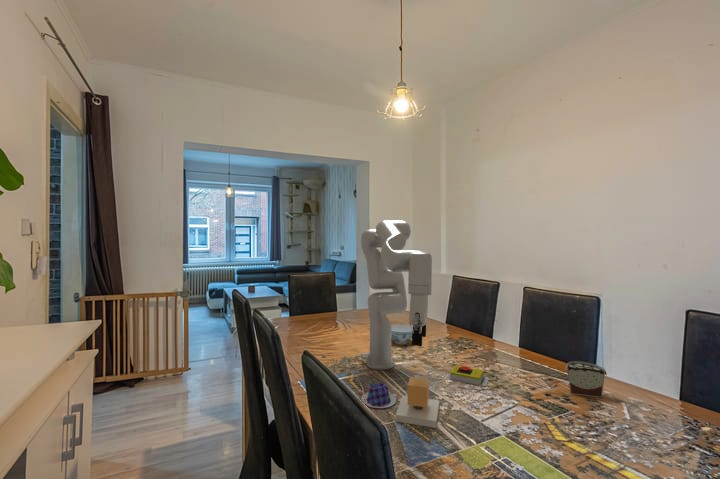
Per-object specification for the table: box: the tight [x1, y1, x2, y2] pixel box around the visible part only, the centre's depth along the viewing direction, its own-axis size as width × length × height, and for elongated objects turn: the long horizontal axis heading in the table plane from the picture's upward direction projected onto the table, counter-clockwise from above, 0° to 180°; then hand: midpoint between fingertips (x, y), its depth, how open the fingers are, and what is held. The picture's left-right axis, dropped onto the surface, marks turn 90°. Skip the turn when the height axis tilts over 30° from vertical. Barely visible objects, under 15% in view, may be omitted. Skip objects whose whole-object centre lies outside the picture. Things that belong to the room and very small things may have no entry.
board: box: [395, 394, 440, 429], centre depth 103 cm, size 12×13×9 cm
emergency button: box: [446, 364, 490, 387], centre depth 130 cm, size 9×4×15 cm
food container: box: [565, 360, 608, 399], centre depth 118 cm, size 12×6×10 cm, turn 71°
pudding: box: [360, 382, 397, 409], centre depth 112 cm, size 12×12×5 cm
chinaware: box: [391, 324, 413, 345], centre depth 175 cm, size 15×15×8 cm
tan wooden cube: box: [407, 377, 430, 407], centre depth 103 cm, size 6×6×6 cm
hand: (419, 340), depth 109 cm, fingers open, 9 cm apart
